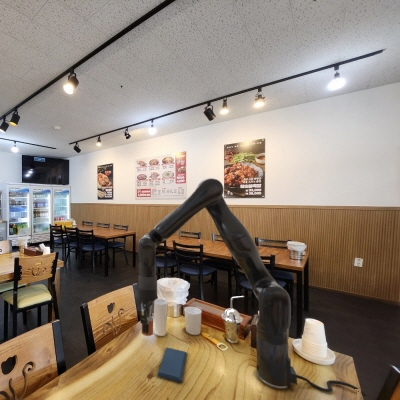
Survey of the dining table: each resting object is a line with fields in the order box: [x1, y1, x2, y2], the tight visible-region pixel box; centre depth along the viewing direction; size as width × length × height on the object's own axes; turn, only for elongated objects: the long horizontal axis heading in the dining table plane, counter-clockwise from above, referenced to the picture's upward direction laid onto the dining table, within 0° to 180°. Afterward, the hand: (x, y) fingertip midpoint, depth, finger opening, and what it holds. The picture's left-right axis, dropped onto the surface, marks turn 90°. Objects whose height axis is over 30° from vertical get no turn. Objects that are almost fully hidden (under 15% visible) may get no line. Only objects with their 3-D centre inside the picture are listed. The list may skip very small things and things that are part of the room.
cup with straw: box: [221, 295, 245, 344], centre depth 102 cm, size 8×9×20 cm
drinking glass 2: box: [153, 298, 169, 337], centre depth 107 cm, size 7×7×15 cm
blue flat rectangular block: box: [157, 347, 187, 384], centre depth 86 cm, size 8×16×1 cm, turn 158°
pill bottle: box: [141, 316, 154, 337], centre depth 90 cm, size 5×5×6 cm
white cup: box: [184, 306, 203, 336], centre depth 109 cm, size 8×8×10 cm
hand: (147, 329), depth 90 cm, fingers closed on pill bottle, 4 cm apart
